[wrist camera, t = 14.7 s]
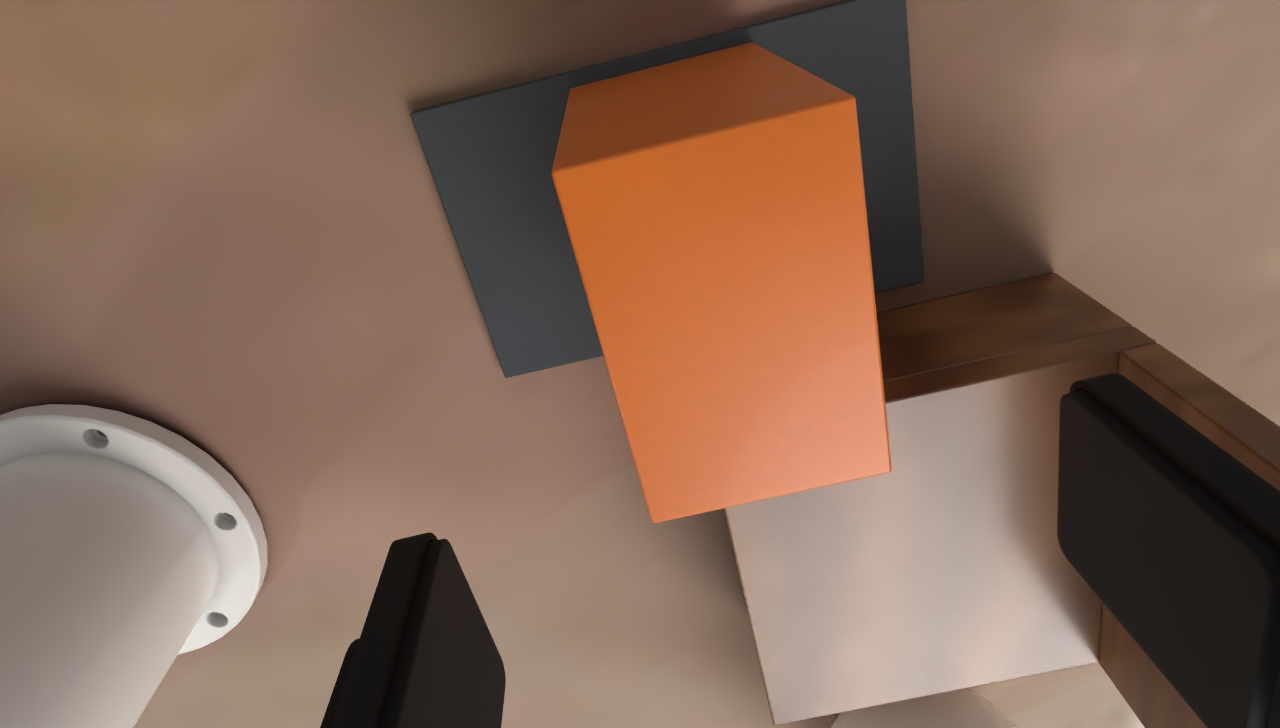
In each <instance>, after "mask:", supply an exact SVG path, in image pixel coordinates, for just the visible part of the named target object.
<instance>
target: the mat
mask: <svg viewBox="0 0 1280 728" xmlns="http://www.w3.org/2000/svg"><path fill="white" fill-rule="evenodd" d="M751 42H752V43H755V44H757V45H758V46H760V47H762V48H764V49H766V50H768V51H770V52H772V53H774V54H776V55H777V56H779V57H781V58H783V59H785V60H787V61H789V62H791V63H793V64H794V65H796V66H798V67H800V68H802V69H804V70H806V71H808V72H810V73H811V74H813V75H815V76H817V77H819V78H821V79H823V80H825V81H827V82H828V83H830V84H832V85H834V86H836V87H838V88H840V89H842V90H844V91H846V92H847V93H849V94H851V95H853V96H854V97H855V99H856V109H857V119H858V129H859V139H860V150H861V160H862V170H863V180H864V190H865V201H866V211H867V221H868V231H869V241H870V252H871V262H872V272H873V282H874V293H877V292H882V291H886V290H890V289H895V288H899V287H903V286H908V285H912V284H916V283H921V282H924V276H923V261H922V246H921V230H920V215H919V200H918V184H917V169H916V153H915V138H914V123H913V107H912V92H911V77H910V61H909V46H908V30H907V15H906V0H849V1H845V2H841V3H837V4H833V5H829V6H825V7H821V8H817V9H813V10H810V11H806V12H802V13H798V14H794V15H790V16H786V17H782V18H778V19H774V20H770V21H766V22H762V23H759V24H755V25H751V26H747V27H743V28H739V29H735V30H731V31H727V32H723V33H719V34H715V35H712V36H708V37H704V38H700V39H696V40H692V41H688V42H684V43H680V44H676V45H672V46H668V47H664V48H661V49H657V50H653V51H649V52H645V53H641V54H637V55H633V56H629V57H625V58H621V59H617V60H613V61H610V62H606V63H602V64H598V65H594V66H590V67H586V68H582V69H578V70H574V71H570V72H566V73H562V74H559V75H555V76H551V77H547V78H543V79H539V80H535V81H531V82H527V83H523V84H519V85H515V86H512V87H508V88H504V89H500V90H496V91H492V92H488V93H484V94H480V95H476V96H472V97H468V98H464V99H461V100H457V101H453V102H449V103H445V104H441V105H437V106H433V107H429V108H425V109H421V110H417V111H414V112H412V113H411V118H412V120H413V123H414V126H415V129H416V131H417V134H418V137H419V140H420V143H421V145H422V148H423V151H424V154H425V156H426V159H427V162H428V165H429V168H430V170H431V173H432V176H433V179H434V181H435V184H436V187H437V190H438V193H439V195H440V198H441V201H442V204H443V206H444V209H445V212H446V215H447V218H448V220H449V223H450V226H451V229H452V231H453V234H454V237H455V240H456V243H457V245H458V248H459V251H460V254H461V256H462V259H463V262H464V265H465V268H466V270H467V273H468V276H469V279H470V281H471V284H472V287H473V290H474V293H475V295H476V298H477V301H478V304H479V306H480V309H481V312H482V315H483V318H484V320H485V323H486V326H487V329H488V331H489V334H490V337H491V340H492V343H493V345H494V348H495V351H496V354H497V356H498V359H499V362H500V365H501V368H502V370H503V373H504V376H505V378H508V377H512V376H516V375H521V374H525V373H529V372H534V371H538V370H543V369H547V368H551V367H556V366H560V365H564V364H569V363H573V362H577V361H582V360H586V359H590V358H595V357H599V356H603V352H602V349H601V345H600V342H599V338H598V335H597V331H596V328H595V324H594V321H593V317H592V314H591V310H590V307H589V303H588V300H587V296H586V293H585V289H584V286H583V282H582V279H581V275H580V272H579V268H578V265H577V262H576V258H575V255H574V251H573V248H572V244H571V241H570V237H569V234H568V230H567V227H566V223H565V220H564V216H563V213H562V209H561V206H560V202H559V199H558V195H557V192H556V188H555V185H554V181H553V178H552V174H551V173H552V167H553V163H554V159H555V154H556V150H557V145H558V141H559V137H560V132H561V128H562V123H563V119H564V114H565V110H566V106H567V101H568V97H569V92H570V89H571V88H574V87H578V86H581V85H585V84H589V83H593V82H597V81H601V80H605V79H609V78H613V77H617V76H621V75H625V74H629V73H633V72H637V71H641V70H645V69H648V68H652V67H656V66H660V65H664V64H668V63H672V62H676V61H680V60H684V59H688V58H692V57H696V56H700V55H704V54H708V53H712V52H716V51H719V50H723V49H727V48H731V47H735V46H739V45H743V44H747V43H751Z"/></svg>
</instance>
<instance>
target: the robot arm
mask: <svg viewBox="0 0 1280 728" xmlns="http://www.w3.org/2000/svg"><path fill="white" fill-rule="evenodd" d="M1057 536H1058V541H1059V545H1060V547H1061V550H1062V552H1063V554H1064V555H1065V557H1066V558H1067V560H1068V561H1069V562H1070V563H1071V565H1072V566H1073V567H1074V568H1075V569H1076V571H1077V572H1078V573H1079V574H1080V575H1081V577H1082V578H1083V579H1084V580H1085V581H1086V583H1087V584H1088V585H1089V586H1090V587H1091V589H1092V590H1093V591H1094V592H1095V593H1096V595H1097V596H1098V597H1099V598H1100V599H1101V601H1102V602H1103V603H1104V604H1105V605H1106V607H1107V608H1108V609H1109V610H1110V611H1111V613H1112V614H1113V615H1114V616H1115V617H1116V619H1117V620H1118V621H1119V622H1120V623H1121V625H1122V626H1123V627H1124V628H1125V629H1126V631H1127V632H1128V633H1129V634H1130V635H1131V637H1132V638H1133V639H1134V640H1135V641H1136V643H1137V644H1138V645H1139V646H1140V647H1141V649H1142V650H1143V651H1144V652H1145V653H1146V655H1147V656H1148V657H1149V658H1150V659H1151V661H1152V662H1153V663H1154V664H1155V665H1156V667H1157V668H1158V669H1159V670H1160V671H1161V673H1162V674H1163V675H1164V676H1165V677H1166V679H1167V680H1168V681H1169V682H1170V683H1171V685H1172V686H1173V687H1174V688H1175V689H1176V691H1177V692H1178V693H1179V694H1180V695H1181V697H1182V698H1183V699H1184V700H1185V701H1186V703H1187V704H1188V705H1189V706H1190V707H1191V709H1192V710H1193V711H1194V712H1195V713H1196V715H1197V716H1198V717H1199V718H1200V719H1201V721H1202V722H1203V723H1204V724H1205V725H1206V727H1207V728H1280V491H1279V490H1277V489H1276V488H1275V487H1273V486H1272V485H1270V484H1269V483H1268V482H1266V481H1265V480H1264V479H1262V478H1261V477H1260V476H1258V475H1257V474H1256V473H1254V472H1253V471H1252V470H1250V469H1249V468H1247V467H1246V466H1245V465H1243V464H1242V463H1241V462H1239V461H1238V460H1237V459H1235V458H1234V457H1233V456H1231V455H1230V454H1229V453H1227V452H1226V451H1224V450H1223V449H1222V448H1220V447H1219V446H1218V445H1216V444H1215V443H1214V442H1212V441H1211V440H1210V439H1208V438H1207V437H1206V436H1204V435H1203V434H1201V433H1200V432H1199V431H1197V430H1196V429H1195V428H1193V427H1192V426H1191V425H1189V424H1188V423H1187V422H1185V421H1184V420H1182V419H1181V418H1180V417H1178V416H1177V415H1176V414H1174V413H1173V412H1172V411H1170V410H1169V409H1168V408H1166V407H1165V406H1164V405H1162V404H1161V403H1159V402H1158V401H1157V400H1155V399H1154V398H1153V397H1151V396H1150V395H1149V394H1147V393H1146V392H1145V391H1143V390H1142V389H1141V388H1139V387H1138V386H1136V385H1135V384H1134V383H1132V382H1131V381H1130V380H1128V379H1127V378H1126V377H1124V376H1123V375H1121V374H1119V373H1109V374H1105V375H1100V376H1096V377H1092V378H1087V379H1083V380H1079V381H1076V382H1074V383H1073V384H1072V385H1071V387H1070V392H1069V393H1067V394H1064V395H1063V396H1062V397H1061V399H1060V419H1059V468H1058V517H1057ZM267 565H268V558H267V540H266V537H265V533H264V529H263V526H262V522H261V519H260V517H259V515H258V514H257V512H256V510H255V508H254V506H253V504H252V502H251V500H250V498H249V497H248V495H247V494H246V493H245V492H244V490H243V489H242V488H241V487H240V485H239V484H238V483H237V481H236V480H235V479H234V478H233V476H232V475H231V474H230V473H229V472H227V471H226V470H225V469H224V468H223V467H222V466H221V465H220V464H219V463H218V462H216V461H215V460H214V459H213V458H212V457H211V456H210V455H209V454H207V453H206V452H204V451H203V450H201V449H200V448H198V447H197V446H195V445H194V444H192V443H191V442H189V441H188V440H186V439H185V438H183V437H182V436H180V435H178V434H176V433H173V432H171V431H169V430H167V429H165V428H163V427H161V426H159V425H157V424H155V423H153V422H151V421H147V420H144V419H141V418H138V417H135V416H132V415H129V414H126V413H123V412H120V411H116V410H110V409H104V408H98V407H93V406H87V405H67V404H47V405H40V406H33V407H26V408H19V409H16V410H13V411H11V412H8V413H5V414H2V415H0V728H133V727H134V725H135V724H136V722H137V720H138V719H139V717H140V715H141V714H142V712H143V711H144V709H145V707H146V706H147V704H148V702H149V701H150V699H151V697H152V696H153V694H154V692H155V691H156V689H157V688H158V686H159V684H160V683H161V681H162V679H163V678H164V676H165V674H166V673H167V671H168V669H169V668H170V666H171V665H172V663H173V661H174V660H175V658H176V656H177V655H179V654H182V653H185V652H189V651H192V650H195V649H199V648H201V647H203V646H205V645H207V644H209V643H211V642H213V641H215V640H217V639H219V638H221V637H222V636H224V635H225V634H226V633H227V632H229V631H230V630H231V629H232V628H234V627H235V626H236V625H237V624H238V623H239V622H240V621H241V619H242V618H243V617H244V615H245V614H246V613H247V612H248V610H249V609H250V608H251V606H252V604H253V602H254V600H255V598H256V596H257V594H258V592H259V590H260V589H261V587H262V585H263V581H264V577H265V573H266V569H267ZM504 694H505V670H504V665H503V662H502V659H501V656H500V654H499V652H498V650H497V647H496V645H495V643H494V641H493V638H492V636H491V634H490V632H489V629H488V627H487V625H486V623H485V621H484V618H483V616H482V614H481V612H480V609H479V607H478V605H477V603H476V600H475V598H474V596H473V594H472V591H471V589H470V587H469V585H468V582H467V580H466V578H465V576H464V573H463V571H462V569H461V567H460V564H459V562H458V560H457V558H456V555H455V553H454V551H453V549H452V546H451V544H450V543H449V541H448V540H447V539H441V540H437V538H436V536H435V535H434V534H433V533H425V534H421V535H416V536H412V537H408V538H403V539H399V540H395V541H394V542H393V543H392V544H391V546H390V549H389V552H388V555H387V558H386V561H385V564H384V567H383V570H382V573H381V576H380V579H379V582H378V585H377V588H376V591H375V594H374V597H373V600H372V603H371V606H370V609H369V612H368V615H367V618H366V622H365V625H364V628H363V631H362V634H361V637H360V638H359V639H356V640H355V641H354V642H352V643H351V644H350V646H349V648H348V650H347V652H346V655H345V658H344V661H343V663H342V666H341V669H340V672H339V675H338V678H337V681H336V684H335V687H334V690H333V692H332V695H331V698H330V701H329V704H328V707H327V710H326V713H325V716H324V719H323V721H322V724H321V727H320V728H501V722H502V713H503V703H504Z"/></svg>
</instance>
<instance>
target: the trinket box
mask: <svg viewBox="0 0 1280 728" xmlns="http://www.w3.org/2000/svg"><path fill="white" fill-rule="evenodd" d="M830 728H1017V727H1016V726H1015V725H1014V723H1013V722H1012V721H1011V720H1010V719H1009V718H1008V717H1007V716H1006V715H1005V714H1004V713H1002V712H1001V711H1000V710H999V709H998V708H997V707H995V706H994V705H993V704H992V703H991V702H989V701H988V700H986V699H985V698H983V697H981V696H980V695H978V694H976V693H974V692H973V691H971V690H969V689H967V688H964V689H959V690H954V691H949V692H944V693H939V694H933V695H928V696H923V697H918V698H913V699H908V700H903V701H898V702H893V703H887V704H882V705H877V706H872V707H867V708H862V709H857V710H852V711H847V712H841V713H840V714H839V715H838V717H837V718H836V720H835V721H834V723H833V724H832V726H831V727H830Z"/></svg>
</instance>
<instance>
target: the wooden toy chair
mask: <svg viewBox="0 0 1280 728" xmlns="http://www.w3.org/2000/svg"><path fill="white" fill-rule="evenodd" d="M877 323H878V333H879V344H880V354H881V364H882V374H883V385H884V395H885V405H886V415H887V425H888V436H889V446H890V456H891V466H892V470H891V472H889V473H886V474H881V475H877V476H872V477H867V478H863V479H858V480H853V481H849V482H844V483H839V484H835V485H830V486H825V487H821V488H816V489H811V490H807V491H802V492H797V493H793V494H788V495H783V496H779V497H774V498H769V499H765V500H760V501H755V502H751V503H746V504H742V505H737V506H732V507H728V508H724V511H725V515H726V520H727V524H728V528H729V533H730V537H731V541H732V546H733V550H734V555H735V559H736V563H737V568H738V572H739V576H740V581H741V585H742V589H743V594H744V598H745V603H746V607H747V611H748V616H749V620H750V624H751V629H752V633H753V638H754V642H755V646H756V651H757V655H758V659H759V664H760V668H761V673H762V677H763V681H764V686H765V690H766V694H767V699H768V703H769V707H770V712H771V716H772V721H773V724H774V725H780V724H785V723H790V722H795V721H800V720H806V719H811V718H816V717H821V716H826V715H831V714H836V713H841V712H847V711H852V710H857V709H862V708H867V707H872V706H877V705H882V704H887V703H893V702H898V701H903V700H908V699H913V698H918V697H923V696H928V695H933V694H939V693H944V692H949V691H954V690H959V689H964V688H969V687H974V686H980V685H985V684H990V683H995V682H1000V681H1005V680H1010V679H1015V678H1020V677H1026V676H1031V675H1036V674H1041V673H1046V672H1051V671H1056V670H1061V669H1066V668H1072V667H1077V666H1082V665H1087V664H1092V663H1097V662H1099V664H1100V665H1101V666H1102V668H1103V669H1104V671H1105V672H1106V673H1107V675H1108V676H1109V678H1110V679H1111V681H1112V682H1113V683H1114V685H1115V686H1116V688H1117V689H1118V690H1119V692H1120V693H1121V695H1122V696H1123V697H1124V699H1125V700H1126V702H1127V703H1128V704H1129V706H1130V707H1131V709H1132V710H1133V711H1134V713H1135V714H1136V716H1137V717H1138V718H1139V720H1140V721H1141V723H1142V724H1143V725H1144V727H1145V728H1207V727H1206V725H1205V724H1204V723H1203V722H1202V721H1201V719H1200V718H1199V717H1198V716H1197V715H1196V713H1195V712H1194V711H1193V710H1192V709H1191V707H1190V706H1189V705H1188V704H1187V703H1186V701H1185V700H1184V699H1183V698H1182V697H1181V695H1180V694H1179V693H1178V692H1177V691H1176V689H1175V688H1174V687H1173V686H1172V685H1171V683H1170V682H1169V681H1168V680H1167V679H1166V677H1165V676H1164V675H1163V674H1162V673H1161V671H1160V670H1159V669H1158V668H1157V667H1156V665H1155V664H1154V663H1153V662H1152V661H1151V659H1150V658H1149V657H1148V656H1147V655H1146V653H1145V652H1144V651H1143V650H1142V649H1141V647H1140V646H1139V645H1138V644H1137V643H1136V641H1135V640H1134V639H1133V638H1132V637H1131V635H1130V634H1129V633H1128V632H1127V631H1126V629H1125V628H1124V627H1123V626H1122V625H1121V623H1120V622H1119V621H1118V620H1117V619H1116V617H1115V616H1114V615H1113V614H1112V613H1111V611H1110V610H1109V609H1108V608H1107V607H1106V605H1105V604H1104V603H1103V602H1102V601H1101V599H1100V598H1099V597H1098V596H1097V595H1096V593H1095V592H1094V591H1093V590H1092V589H1091V587H1090V586H1089V585H1088V584H1087V583H1086V581H1085V580H1084V579H1083V578H1082V577H1081V575H1080V574H1079V573H1078V572H1077V571H1076V569H1075V568H1074V567H1073V566H1072V565H1071V563H1070V562H1069V561H1068V560H1067V558H1066V557H1065V555H1064V554H1063V552H1062V550H1061V547H1060V545H1059V541H1058V536H1057V517H1058V468H1059V419H1060V399H1061V397H1062V396H1063V395H1064V394H1067V393H1069V392H1070V387H1071V385H1072V384H1073V383H1074V382H1076V381H1079V380H1083V379H1087V378H1092V377H1096V376H1100V375H1105V374H1109V373H1119V374H1121V375H1123V376H1124V377H1126V378H1127V379H1128V380H1130V381H1131V382H1132V383H1134V384H1135V385H1136V386H1138V387H1139V388H1141V389H1142V390H1143V391H1145V392H1146V393H1147V394H1149V395H1150V396H1151V397H1153V398H1154V399H1155V400H1157V401H1158V402H1159V403H1161V404H1162V405H1164V406H1165V407H1166V408H1168V409H1169V410H1170V411H1172V412H1173V413H1174V414H1176V415H1177V416H1178V417H1180V418H1181V419H1182V420H1184V421H1185V422H1187V423H1188V424H1189V425H1191V426H1192V427H1193V428H1195V429H1196V430H1197V431H1199V432H1200V433H1201V434H1203V435H1204V436H1206V437H1207V438H1208V439H1210V440H1211V441H1212V442H1214V443H1215V444H1216V445H1218V446H1219V447H1220V448H1222V449H1223V450H1224V451H1226V452H1227V453H1229V454H1230V455H1231V456H1233V457H1234V458H1235V459H1237V460H1238V461H1239V462H1241V463H1242V464H1243V465H1245V466H1246V467H1247V468H1249V469H1250V470H1252V471H1253V472H1254V473H1256V474H1257V475H1258V476H1260V477H1261V478H1262V479H1264V480H1265V481H1266V482H1268V483H1269V484H1270V485H1272V486H1273V487H1275V488H1276V489H1277V490H1279V491H1280V426H1278V425H1277V424H1275V423H1274V422H1272V421H1271V420H1269V419H1268V418H1267V417H1265V416H1264V415H1262V414H1261V413H1259V412H1258V411H1256V410H1255V409H1253V408H1252V407H1250V406H1249V405H1247V404H1246V403H1245V402H1243V401H1242V400H1240V399H1239V398H1237V397H1236V396H1234V395H1233V394H1231V393H1230V392H1228V391H1227V390H1226V389H1224V388H1223V387H1221V386H1220V385H1218V384H1217V383H1215V382H1214V381H1212V380H1211V379H1209V378H1208V377H1207V376H1205V375H1204V374H1202V373H1201V372H1199V371H1198V370H1196V369H1195V368H1193V367H1192V366H1190V365H1189V364H1188V363H1186V362H1185V361H1183V360H1182V359H1180V358H1179V357H1177V356H1176V355H1174V354H1173V353H1171V352H1170V351H1169V350H1167V349H1166V348H1164V347H1163V346H1161V345H1160V344H1157V343H1156V341H1154V340H1153V339H1151V338H1150V337H1148V336H1147V335H1145V334H1144V333H1142V332H1141V331H1140V330H1138V329H1137V328H1135V327H1132V325H1131V324H1129V323H1128V322H1126V321H1125V320H1124V319H1122V318H1121V317H1119V316H1118V315H1116V314H1115V313H1113V312H1112V311H1110V310H1109V309H1107V308H1106V307H1104V306H1103V305H1102V304H1100V303H1099V302H1097V301H1096V300H1094V299H1093V298H1091V297H1090V296H1088V295H1087V294H1085V293H1084V292H1083V291H1081V290H1080V289H1078V288H1077V287H1075V286H1074V285H1072V284H1071V283H1069V282H1068V281H1066V280H1065V279H1064V278H1062V277H1061V276H1059V275H1058V274H1056V273H1052V274H1047V275H1043V276H1039V277H1034V278H1030V279H1026V280H1021V281H1017V282H1012V283H1008V284H1004V285H999V286H995V287H991V288H986V289H982V290H977V291H973V292H969V293H964V294H960V295H955V296H951V297H947V298H942V299H938V300H934V301H929V302H925V303H920V304H916V305H912V306H907V307H903V308H899V309H894V310H890V311H885V312H881V313H877Z"/></svg>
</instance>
